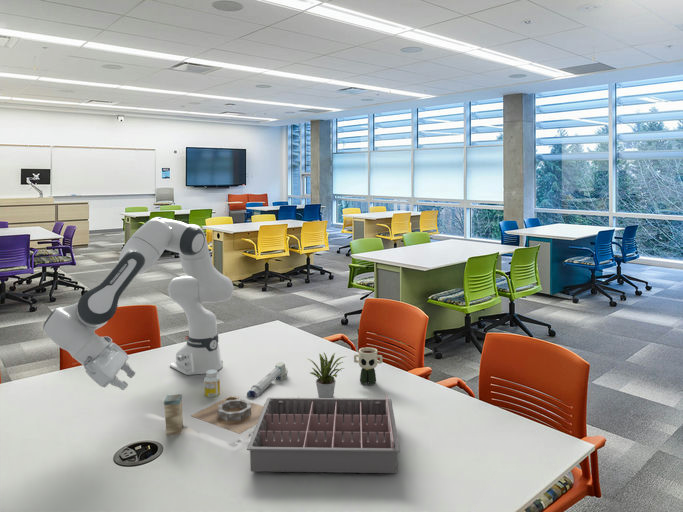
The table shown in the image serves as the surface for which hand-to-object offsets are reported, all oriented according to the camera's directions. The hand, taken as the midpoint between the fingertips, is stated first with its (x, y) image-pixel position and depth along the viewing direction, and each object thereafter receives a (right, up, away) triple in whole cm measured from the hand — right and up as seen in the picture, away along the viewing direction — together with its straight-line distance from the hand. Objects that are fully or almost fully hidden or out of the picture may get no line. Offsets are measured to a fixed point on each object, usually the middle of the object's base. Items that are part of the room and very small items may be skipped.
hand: (129, 381), depth 153 cm
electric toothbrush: (+37, -12, +38) cm, 54 cm away
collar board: (+29, -15, +14) cm, 35 cm away
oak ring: (+26, -13, +22) cm, 36 cm away
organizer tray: (+60, -18, -4) cm, 62 cm away
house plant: (+60, -13, +28) cm, 67 cm away
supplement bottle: (+17, -13, +29) cm, 37 cm away
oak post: (+12, -17, +5) cm, 21 cm away
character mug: (+74, -11, +42) cm, 86 cm away
